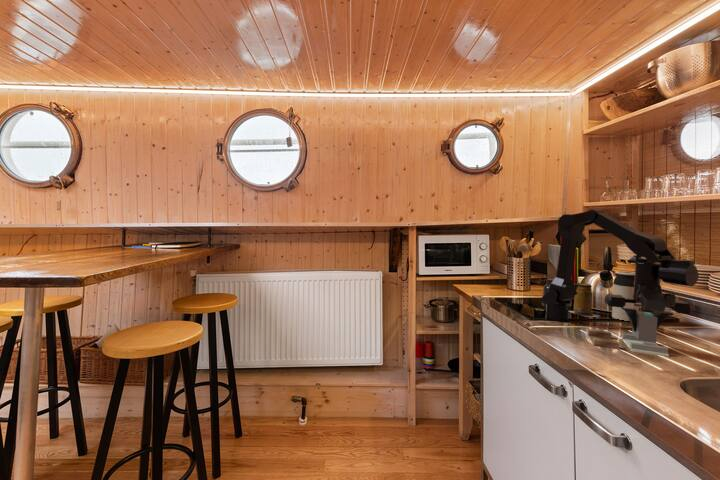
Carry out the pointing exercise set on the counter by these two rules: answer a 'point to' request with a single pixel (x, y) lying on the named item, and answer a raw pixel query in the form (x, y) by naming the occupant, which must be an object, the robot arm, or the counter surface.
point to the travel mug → (623, 292)
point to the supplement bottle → (546, 288)
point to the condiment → (583, 301)
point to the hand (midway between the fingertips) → (643, 332)
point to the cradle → (644, 345)
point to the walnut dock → (602, 339)
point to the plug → (645, 326)
